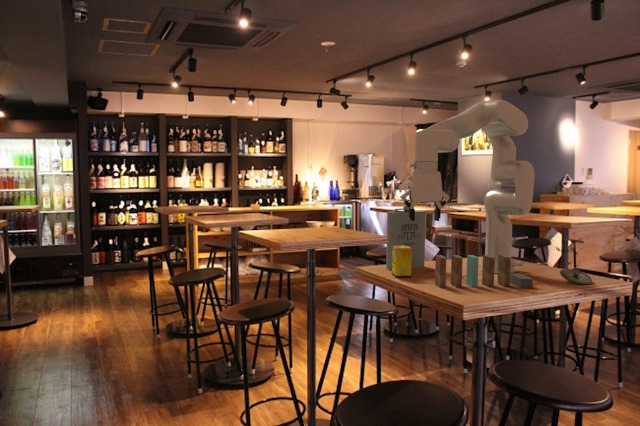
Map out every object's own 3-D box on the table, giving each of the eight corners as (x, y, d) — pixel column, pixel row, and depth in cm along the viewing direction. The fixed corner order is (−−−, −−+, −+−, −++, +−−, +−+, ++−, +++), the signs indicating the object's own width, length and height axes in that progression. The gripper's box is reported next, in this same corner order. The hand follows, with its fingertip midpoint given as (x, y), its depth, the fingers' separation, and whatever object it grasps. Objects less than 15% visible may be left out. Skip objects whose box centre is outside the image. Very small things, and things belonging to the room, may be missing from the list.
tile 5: (503, 283, 181) (504, 254, 180) (509, 286, 176) (510, 257, 175) (497, 283, 181) (498, 254, 180) (503, 286, 176) (504, 257, 175)
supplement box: (391, 274, 195) (392, 245, 194) (407, 274, 196) (407, 245, 195) (395, 278, 189) (395, 247, 189) (411, 277, 190) (412, 247, 189)
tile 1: (440, 284, 179) (441, 255, 178) (445, 287, 174) (446, 257, 173) (434, 284, 179) (435, 255, 178) (439, 287, 174) (440, 257, 173)
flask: (391, 270, 203) (392, 206, 201) (384, 268, 207) (385, 205, 205) (427, 267, 211) (428, 205, 209) (420, 265, 215) (421, 204, 213)
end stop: (519, 282, 184) (520, 273, 184) (532, 287, 175) (532, 278, 175) (508, 282, 184) (509, 273, 183) (521, 287, 175) (521, 278, 174)
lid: (576, 278, 191) (576, 265, 191) (598, 284, 182) (599, 269, 181) (553, 280, 187) (553, 266, 187) (575, 286, 178) (575, 271, 178)
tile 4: (487, 283, 181) (488, 254, 180) (493, 287, 176) (494, 257, 175) (481, 283, 181) (482, 254, 180) (487, 287, 176) (489, 257, 175)
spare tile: (471, 284, 180) (472, 255, 179) (477, 287, 175) (478, 257, 174) (466, 284, 180) (467, 255, 179) (471, 287, 175) (472, 257, 174)
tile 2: (456, 284, 180) (457, 255, 179) (461, 287, 175) (462, 257, 174) (450, 284, 180) (451, 255, 179) (455, 287, 175) (456, 257, 174)
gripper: (402, 166, 168) (401, 221, 170) (455, 167, 170) (454, 221, 171) (397, 167, 176) (395, 219, 177) (447, 167, 177) (446, 219, 179)
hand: (424, 220), depth 174 cm, fingers open, 7 cm apart
